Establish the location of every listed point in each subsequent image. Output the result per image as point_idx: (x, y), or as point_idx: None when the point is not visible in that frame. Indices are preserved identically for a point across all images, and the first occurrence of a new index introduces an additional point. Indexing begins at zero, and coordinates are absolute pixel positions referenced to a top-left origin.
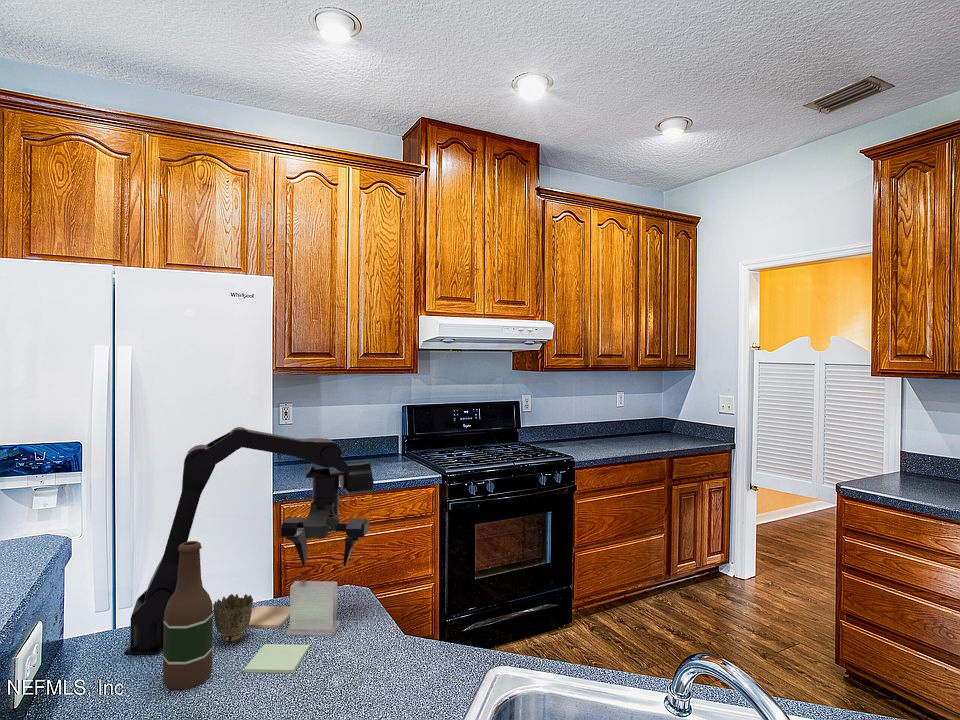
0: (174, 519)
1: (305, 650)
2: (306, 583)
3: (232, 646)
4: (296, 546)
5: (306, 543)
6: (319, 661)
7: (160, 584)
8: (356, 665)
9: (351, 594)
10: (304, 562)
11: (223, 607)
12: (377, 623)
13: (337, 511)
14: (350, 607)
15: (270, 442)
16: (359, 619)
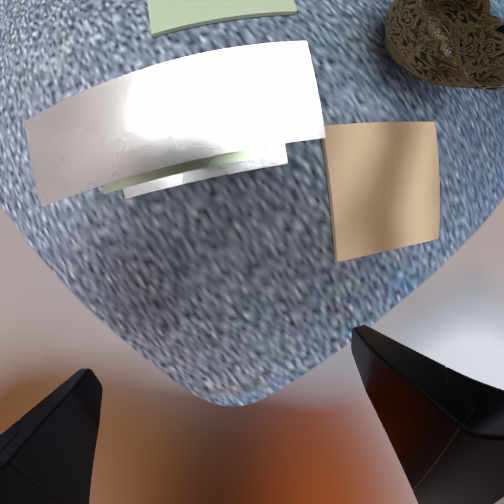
0: None
1: (149, 8)
2: (216, 107)
3: (381, 21)
4: (487, 391)
5: (405, 467)
6: (100, 2)
7: None
8: (21, 35)
9: (212, 376)
10: (360, 339)
11: (487, 66)
12: (46, 235)
13: None
14: (167, 310)
15: None
16: (97, 244)
